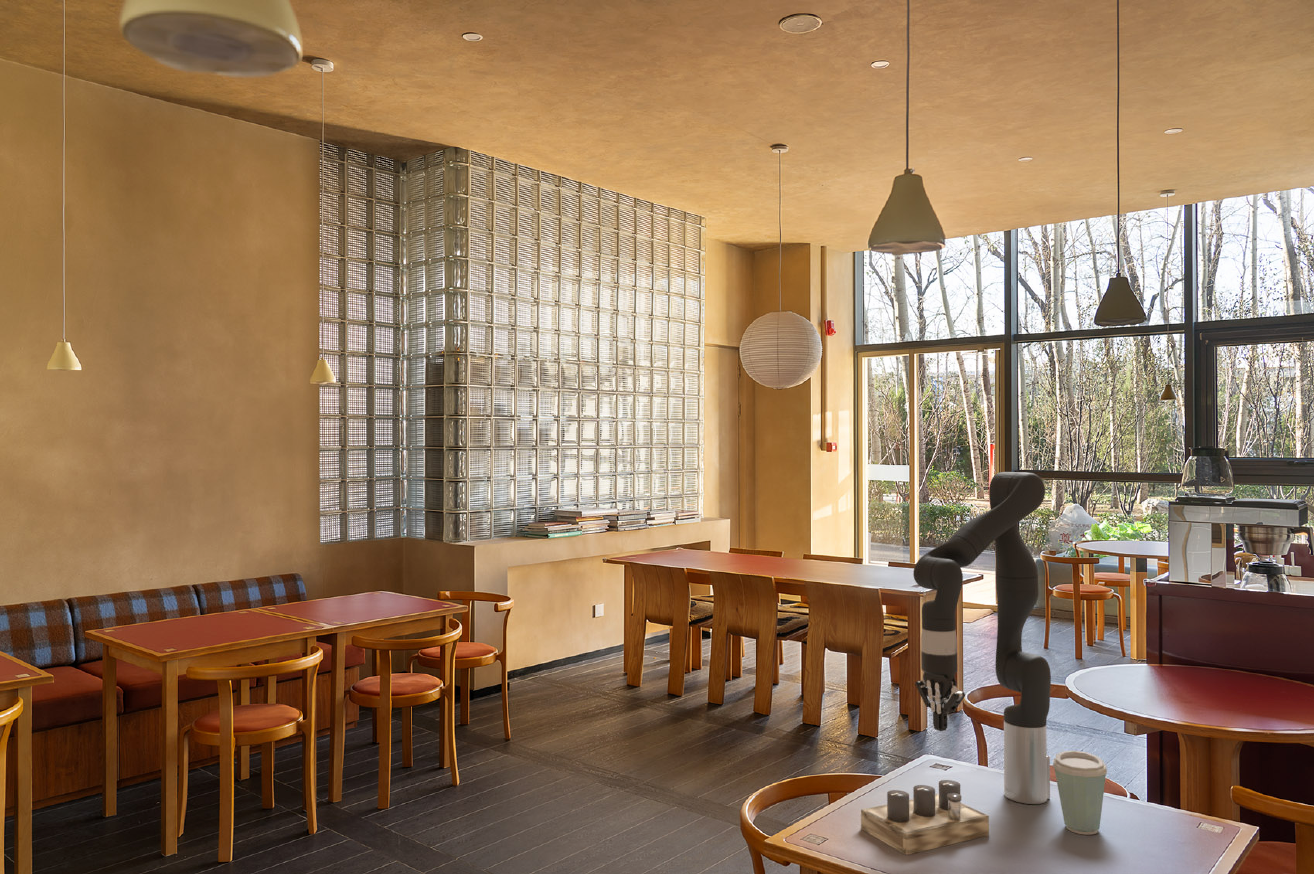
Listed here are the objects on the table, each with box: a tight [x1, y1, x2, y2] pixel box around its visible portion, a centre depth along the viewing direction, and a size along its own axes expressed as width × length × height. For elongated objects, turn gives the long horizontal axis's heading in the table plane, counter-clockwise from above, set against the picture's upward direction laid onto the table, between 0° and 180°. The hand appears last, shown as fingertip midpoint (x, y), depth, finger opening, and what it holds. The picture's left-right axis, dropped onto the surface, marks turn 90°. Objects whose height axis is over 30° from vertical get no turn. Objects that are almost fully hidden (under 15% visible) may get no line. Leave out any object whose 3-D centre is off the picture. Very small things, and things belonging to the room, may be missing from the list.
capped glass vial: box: [947, 793, 962, 821], centre depth 186 cm, size 3×3×5 cm
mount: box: [860, 793, 990, 856], centre depth 189 cm, size 22×14×4 cm, turn 116°
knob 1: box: [886, 789, 910, 823], centre depth 186 cm, size 4×4×8 cm
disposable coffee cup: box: [1052, 750, 1108, 836], centre depth 191 cm, size 11×11×15 cm
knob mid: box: [912, 784, 936, 817], centre depth 189 cm, size 4×4×8 cm
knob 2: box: [938, 779, 961, 811], centre depth 192 cm, size 4×4×8 cm
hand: (940, 729), depth 196 cm, fingers closed
